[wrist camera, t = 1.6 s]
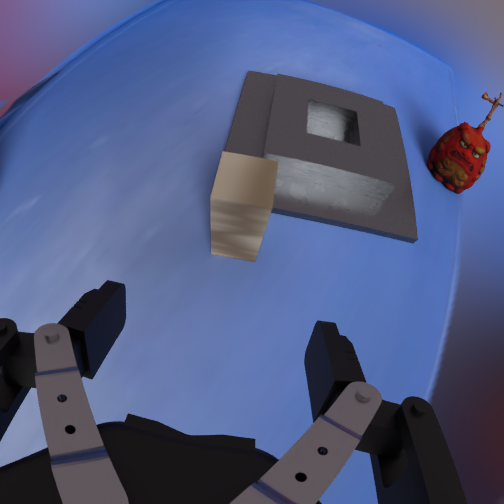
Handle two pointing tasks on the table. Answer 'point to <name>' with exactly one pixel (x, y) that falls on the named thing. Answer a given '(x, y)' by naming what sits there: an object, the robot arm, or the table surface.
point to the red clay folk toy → (461, 154)
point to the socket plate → (327, 154)
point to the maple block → (241, 205)
